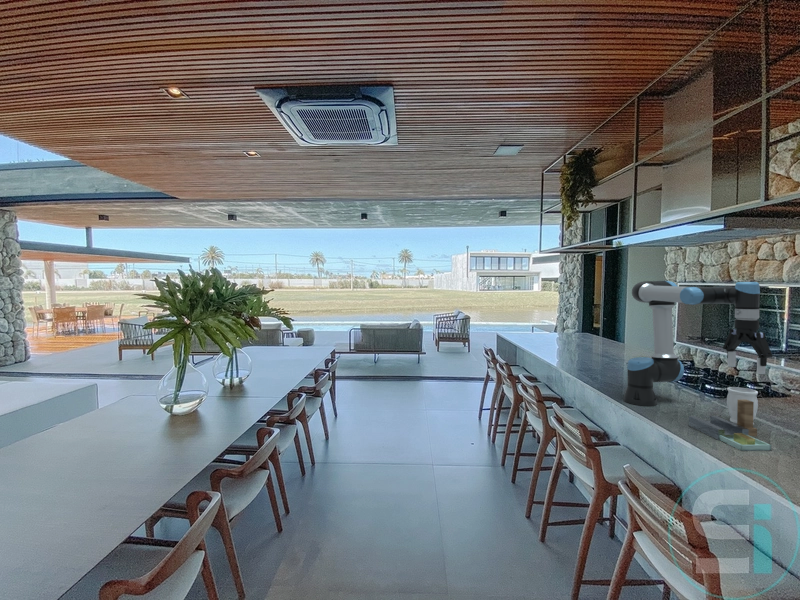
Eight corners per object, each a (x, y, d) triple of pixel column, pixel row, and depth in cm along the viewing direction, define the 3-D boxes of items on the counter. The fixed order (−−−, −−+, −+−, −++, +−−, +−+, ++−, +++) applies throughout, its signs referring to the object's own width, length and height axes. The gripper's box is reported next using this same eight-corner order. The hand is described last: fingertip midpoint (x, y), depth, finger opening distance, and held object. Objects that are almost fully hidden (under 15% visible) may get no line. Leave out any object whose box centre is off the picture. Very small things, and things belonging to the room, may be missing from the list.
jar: (763, 427, 166) (764, 393, 166) (736, 426, 169) (736, 392, 168) (746, 419, 177) (747, 387, 176) (721, 418, 179) (721, 386, 178)
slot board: (688, 425, 170) (688, 416, 170) (715, 425, 170) (716, 415, 170) (718, 440, 154) (718, 429, 154) (748, 439, 154) (748, 429, 154)
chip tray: (719, 440, 154) (719, 435, 154) (747, 439, 154) (747, 434, 154) (741, 450, 144) (741, 445, 144) (771, 450, 144) (771, 445, 144)
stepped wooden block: (733, 431, 162) (733, 399, 162) (746, 431, 162) (746, 398, 162) (743, 436, 157) (744, 402, 157) (757, 436, 157) (757, 402, 157)
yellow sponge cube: (740, 436, 149) (747, 439, 146) (748, 435, 149) (755, 439, 146) (740, 443, 149) (747, 446, 146) (747, 443, 149) (755, 446, 146)
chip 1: (733, 440, 152) (733, 433, 152) (741, 440, 152) (741, 433, 152) (740, 443, 149) (740, 436, 149) (747, 443, 149) (748, 435, 149)
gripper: (713, 316, 171) (712, 364, 172) (766, 322, 146) (764, 377, 147) (730, 316, 171) (729, 363, 172) (786, 321, 146) (784, 377, 147)
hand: (745, 370), depth 159 cm, fingers open, 13 cm apart
